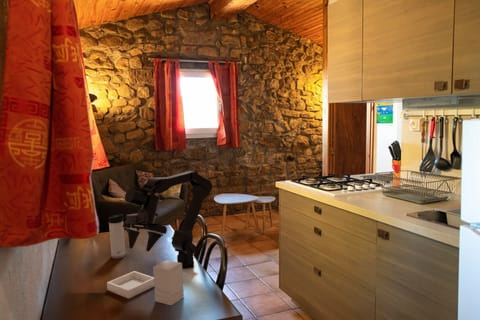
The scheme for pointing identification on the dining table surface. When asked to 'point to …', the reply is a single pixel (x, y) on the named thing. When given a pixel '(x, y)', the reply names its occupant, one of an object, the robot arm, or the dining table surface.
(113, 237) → the travel mug
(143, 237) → the dining table surface
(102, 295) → the dining table surface
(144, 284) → the tray
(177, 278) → the supplement box
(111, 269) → the dining table surface
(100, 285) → the dining table surface
